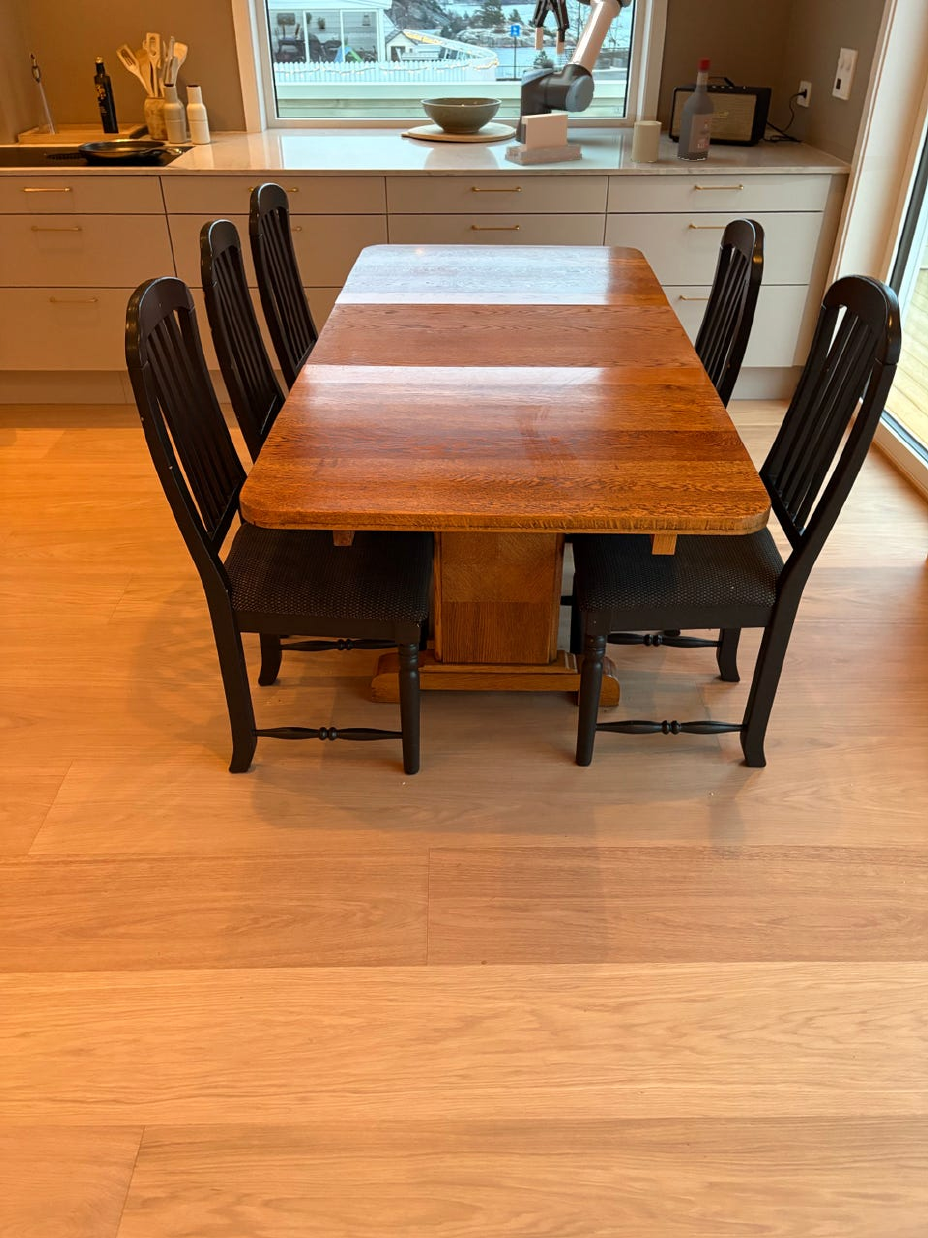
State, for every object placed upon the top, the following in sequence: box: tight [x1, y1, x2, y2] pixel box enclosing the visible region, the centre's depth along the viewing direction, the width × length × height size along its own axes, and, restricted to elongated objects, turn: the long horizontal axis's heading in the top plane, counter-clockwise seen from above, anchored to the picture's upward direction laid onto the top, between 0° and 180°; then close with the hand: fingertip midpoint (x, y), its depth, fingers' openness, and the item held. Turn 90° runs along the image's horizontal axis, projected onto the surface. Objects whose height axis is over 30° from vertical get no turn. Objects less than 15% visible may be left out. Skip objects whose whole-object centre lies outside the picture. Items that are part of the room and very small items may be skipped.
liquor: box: [677, 57, 715, 160], centre depth 319 cm, size 9×9×30 cm
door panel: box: [520, 112, 569, 151], centre depth 323 cm, size 17×4×12 cm, turn 118°
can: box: [630, 120, 662, 163], centre depth 322 cm, size 9×9×12 cm
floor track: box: [504, 141, 583, 166], centre depth 326 cm, size 24×12×4 cm, turn 118°
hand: (549, 51), depth 321 cm, fingers open, 13 cm apart
